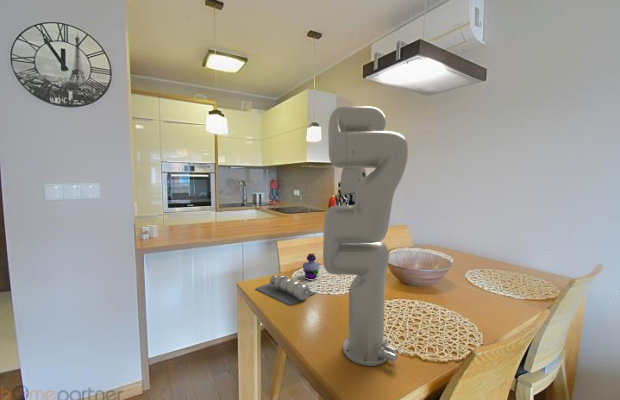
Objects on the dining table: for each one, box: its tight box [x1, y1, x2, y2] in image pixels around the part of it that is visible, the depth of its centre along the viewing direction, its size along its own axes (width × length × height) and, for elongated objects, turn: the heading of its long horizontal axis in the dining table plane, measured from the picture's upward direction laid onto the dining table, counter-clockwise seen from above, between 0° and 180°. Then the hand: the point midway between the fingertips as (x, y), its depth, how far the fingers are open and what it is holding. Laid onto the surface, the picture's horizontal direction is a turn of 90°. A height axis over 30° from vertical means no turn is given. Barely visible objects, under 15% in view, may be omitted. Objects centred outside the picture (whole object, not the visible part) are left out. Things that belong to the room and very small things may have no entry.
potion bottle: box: [302, 253, 321, 279], centre depth 129 cm, size 9×9×12 cm
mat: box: [255, 282, 316, 307], centre depth 114 cm, size 22×14×1 cm, turn 47°
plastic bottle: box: [269, 274, 311, 302], centre depth 111 cm, size 6×7×20 cm
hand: (352, 211), depth 106 cm, fingers closed
